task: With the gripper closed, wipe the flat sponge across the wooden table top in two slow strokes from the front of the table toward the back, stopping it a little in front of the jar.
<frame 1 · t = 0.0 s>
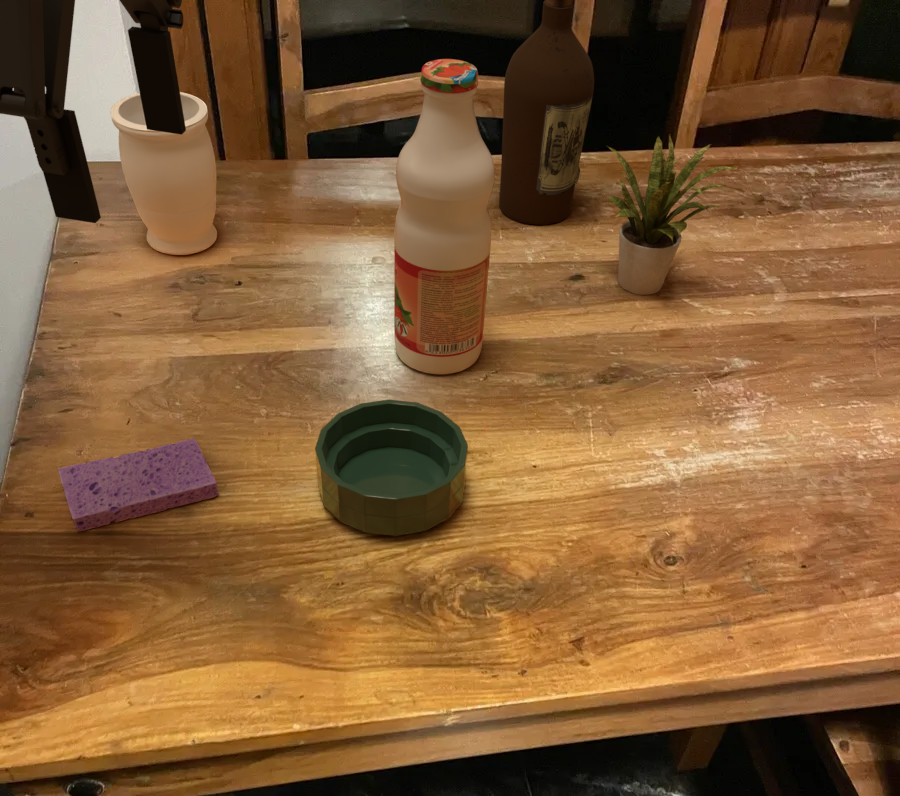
hand: (125, 171, 64), 28 cm above the table, tool pointing down, fingers open, 13 cm apart
olive oil: (534, 209, 122), on the table
jar: (183, 240, 113), on the table
dish: (392, 488, 86), on the table
sponge: (142, 492, 84), on the table
house plant: (649, 288, 111), on the table
fruit juice: (437, 352, 100), on the table
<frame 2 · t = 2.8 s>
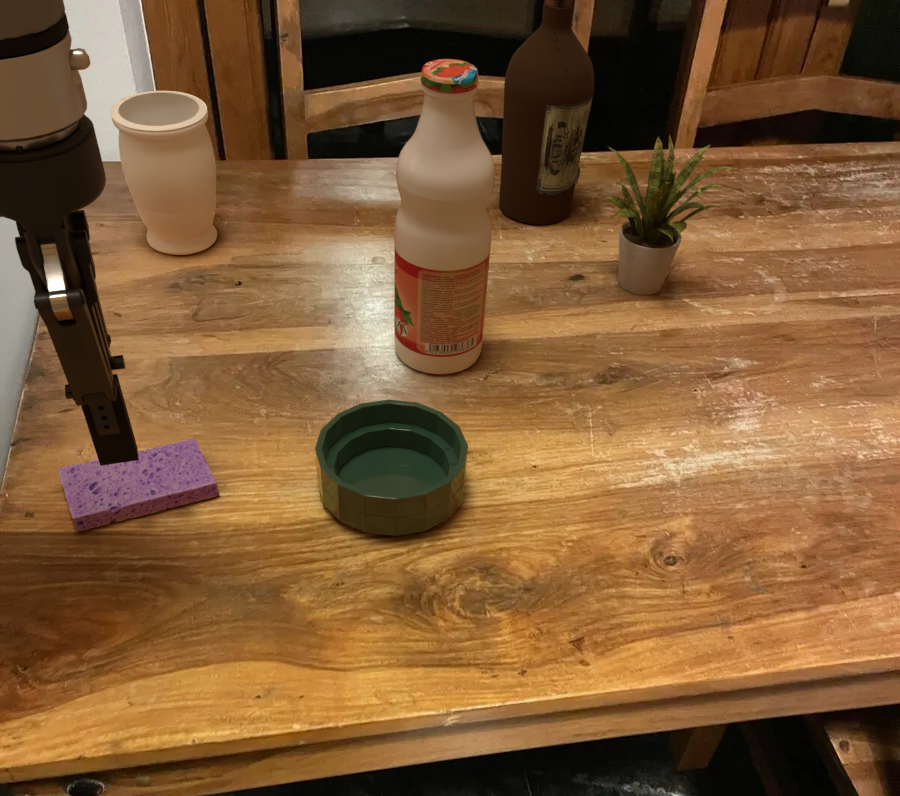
hand: (119, 456, 68), 12 cm above the table, tool pointing down, fingers closed
nothing on the table moved.
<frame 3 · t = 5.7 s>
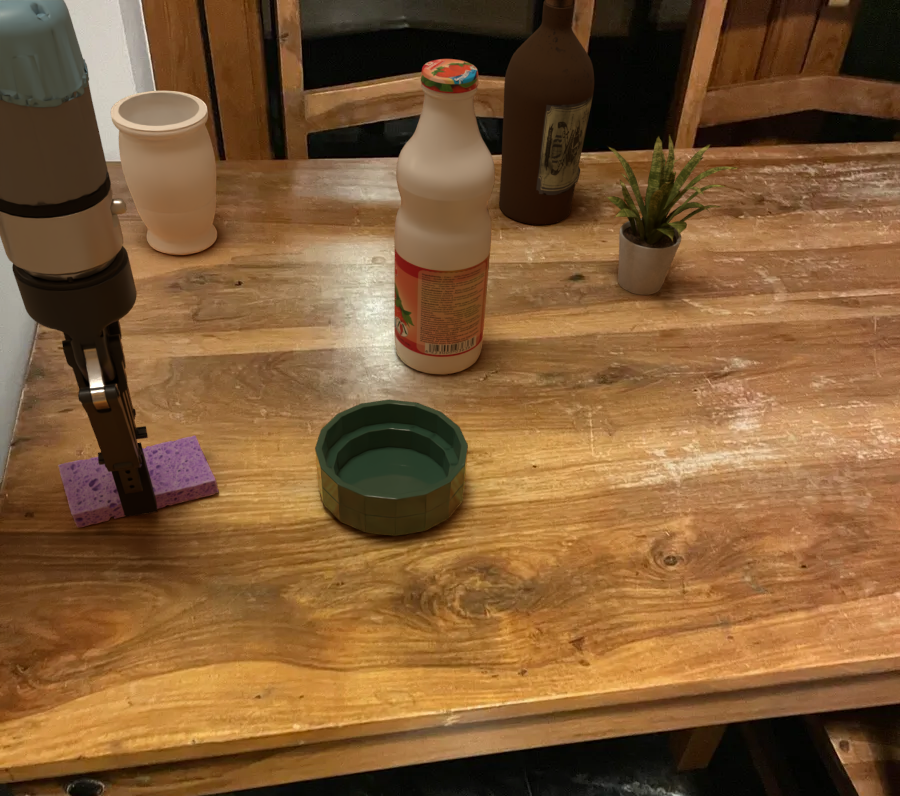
hand: (140, 508, 81), 1 cm above the table, tool pointing down, fingers closed
sponge: (141, 488, 85), on the table, touching gripper
everything else where it was.
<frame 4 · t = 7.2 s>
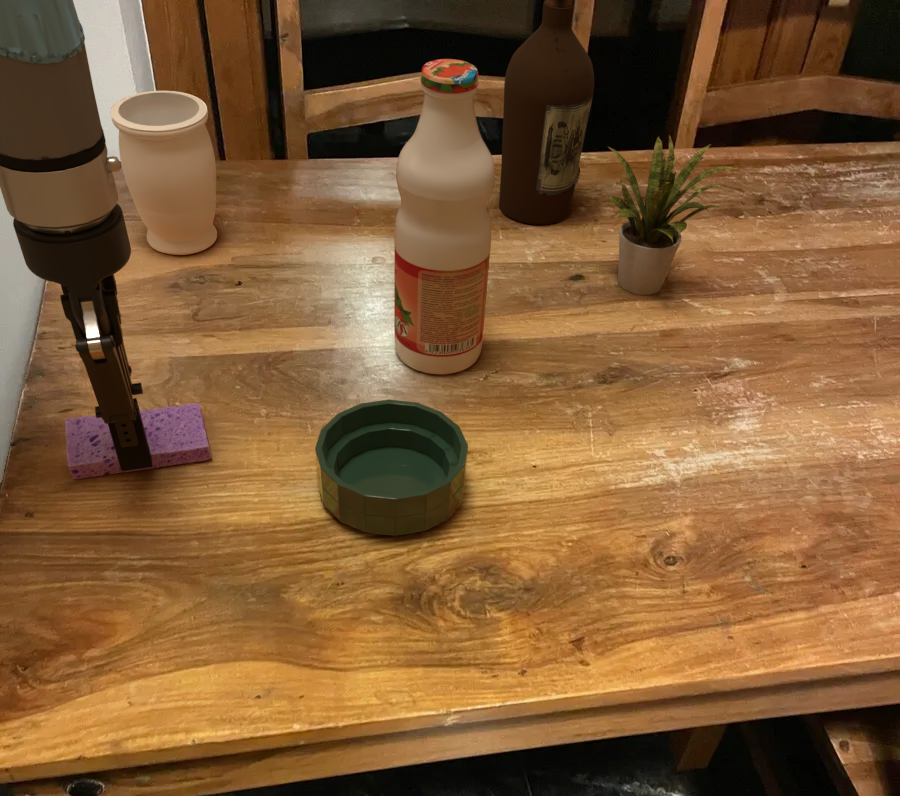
hand: (136, 463, 84), 2 cm above the table, tool pointing down, fingers closed
sponge: (141, 448, 88), on the table, touching gripper
everything else where it was.
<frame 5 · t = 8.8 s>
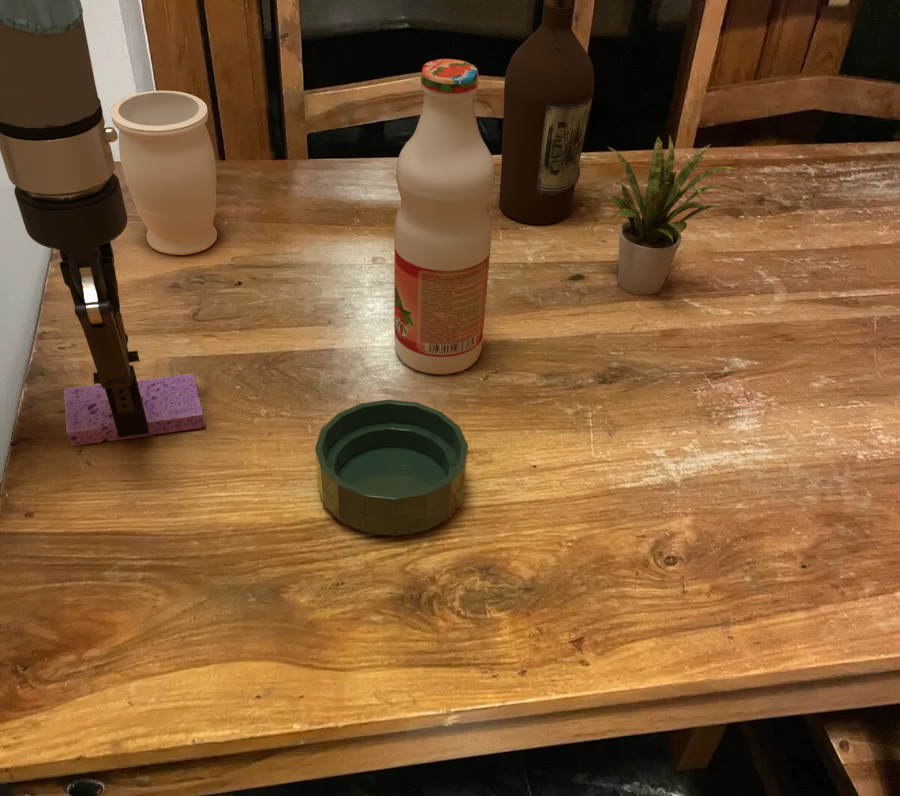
hand: (133, 430, 87), 2 cm above the table, tool pointing down, fingers closed
sponge: (137, 417, 91), on the table, touching gripper
everything else where it was.
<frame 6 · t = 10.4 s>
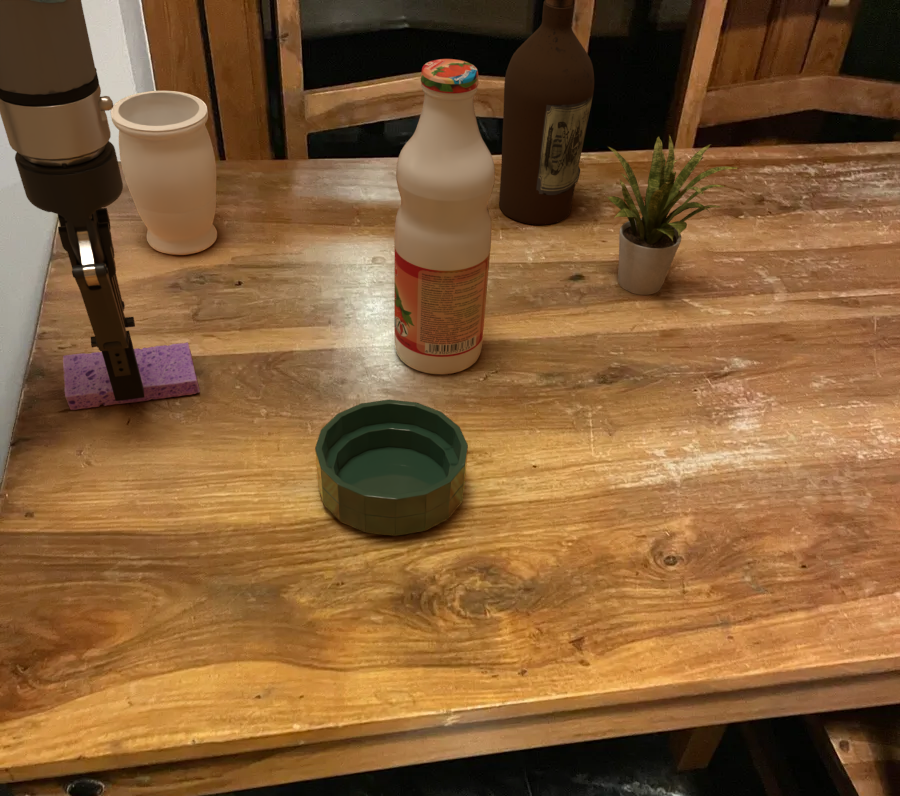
hand: (129, 394, 90), 2 cm above the table, tool pointing down, fingers closed
sponge: (133, 384, 94), on the table, touching gripper
everything else where it was.
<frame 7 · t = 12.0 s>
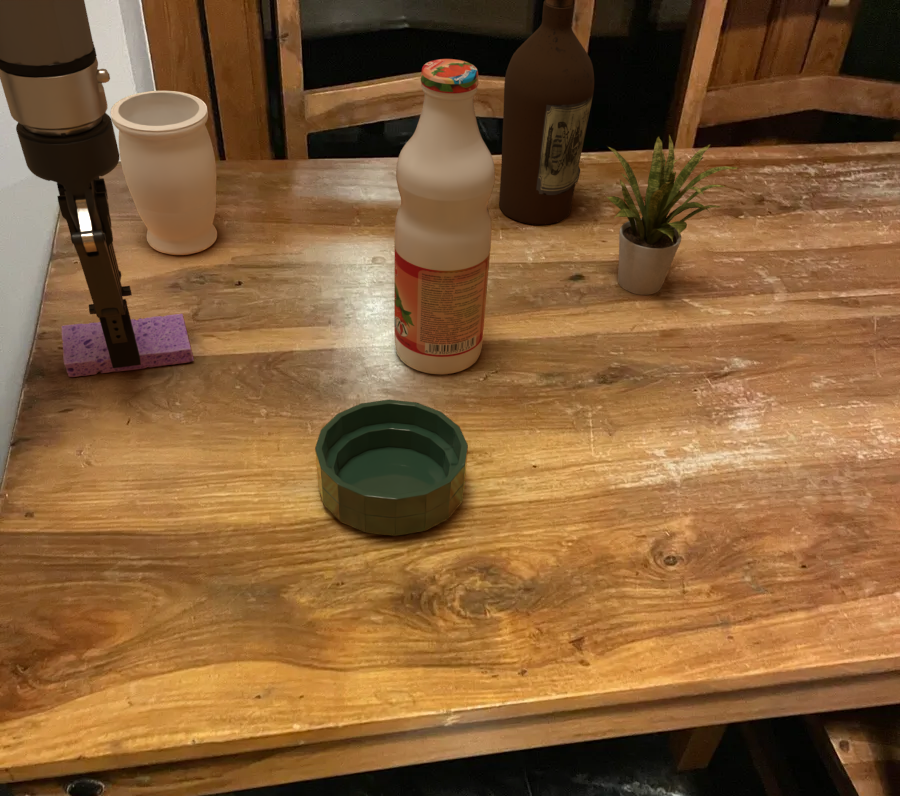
hand: (126, 362, 94), 2 cm above the table, tool pointing down, fingers closed
sponge: (130, 353, 98), on the table, touching gripper
everything else where it was.
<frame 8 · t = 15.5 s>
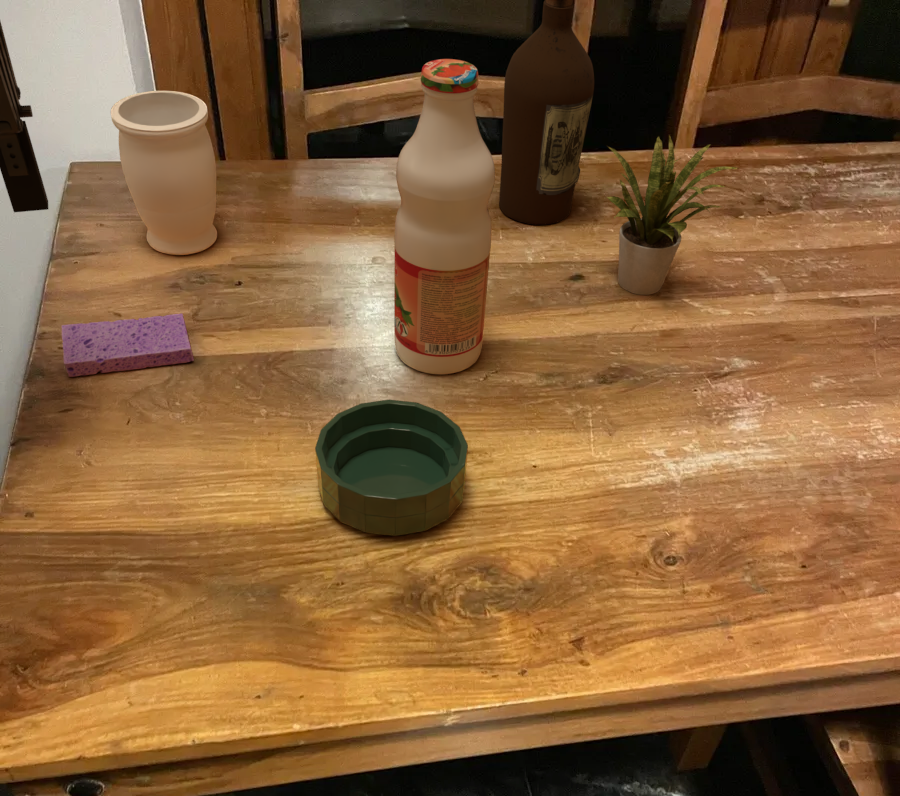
hand: (31, 206, 78), 19 cm above the table, tool pointing down, fingers closed
sponge: (130, 353, 98), on the table
everything else where it was.
at the end: sponge moved 21.8 cm from its start; sponge 23.5 cm from the jar (horizontally); jar moved 0.2 cm from its start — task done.
